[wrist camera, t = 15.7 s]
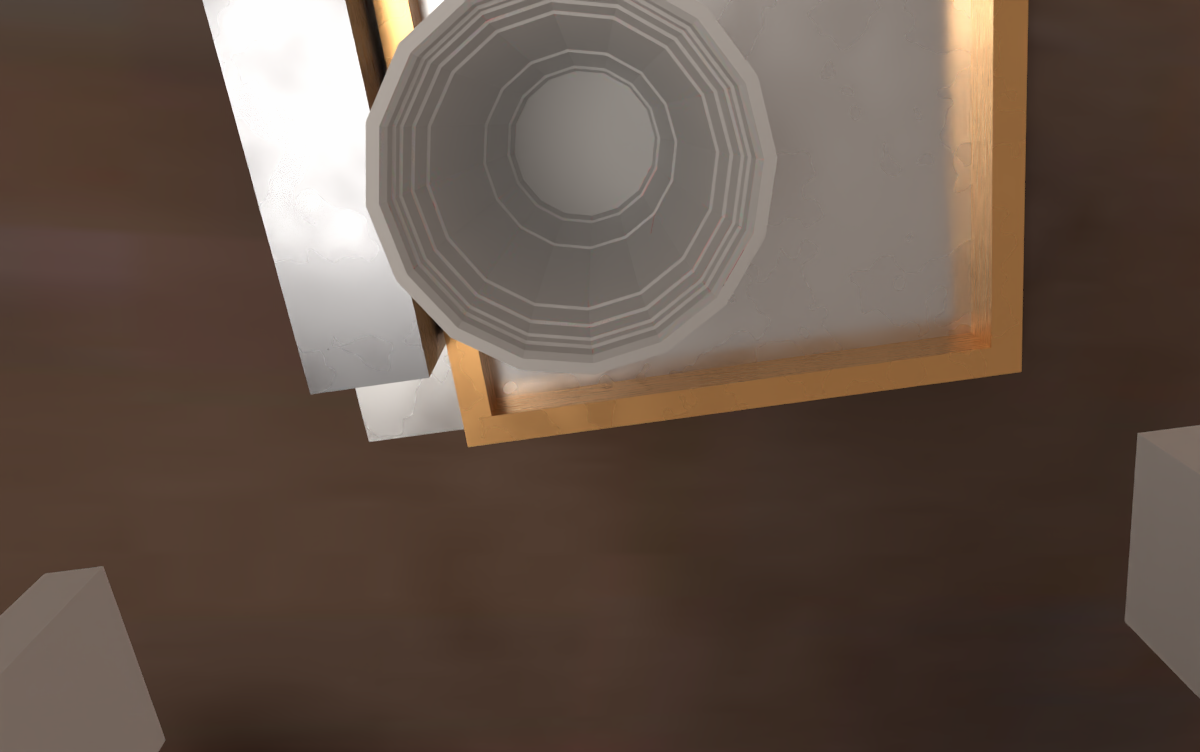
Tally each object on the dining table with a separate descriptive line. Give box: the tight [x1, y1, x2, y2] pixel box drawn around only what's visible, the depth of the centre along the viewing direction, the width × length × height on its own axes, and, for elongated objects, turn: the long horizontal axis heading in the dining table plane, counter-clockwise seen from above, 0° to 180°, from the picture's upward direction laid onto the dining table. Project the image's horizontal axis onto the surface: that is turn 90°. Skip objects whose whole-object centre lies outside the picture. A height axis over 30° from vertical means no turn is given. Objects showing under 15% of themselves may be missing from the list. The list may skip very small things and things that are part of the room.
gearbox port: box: [203, 0, 1028, 447], centre depth 33 cm, size 22×27×6 cm
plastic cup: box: [366, 0, 777, 375], centre depth 29 cm, size 11×11×12 cm
